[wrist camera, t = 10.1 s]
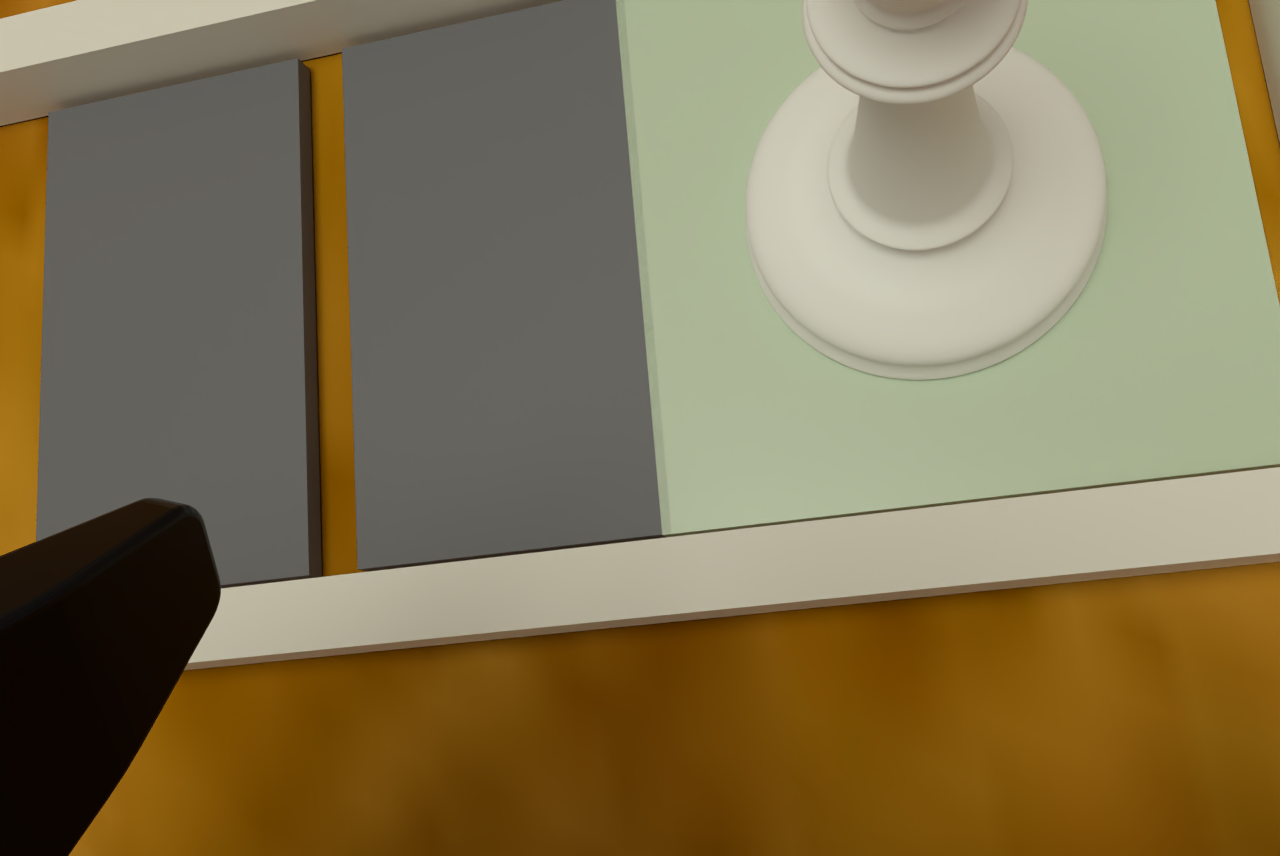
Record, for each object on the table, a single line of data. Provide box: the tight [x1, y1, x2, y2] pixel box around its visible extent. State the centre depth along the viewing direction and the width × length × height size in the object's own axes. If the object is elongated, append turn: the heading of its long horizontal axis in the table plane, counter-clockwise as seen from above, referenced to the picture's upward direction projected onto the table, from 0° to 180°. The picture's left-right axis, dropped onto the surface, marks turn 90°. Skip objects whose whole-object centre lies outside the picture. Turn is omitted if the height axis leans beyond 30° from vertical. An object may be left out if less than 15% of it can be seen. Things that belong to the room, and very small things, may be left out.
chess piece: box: [745, 0, 1107, 380], centre depth 12 cm, size 5×5×10 cm
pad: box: [616, 0, 1280, 537], centre depth 17 cm, size 8×9×1 cm
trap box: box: [0, 0, 1280, 670], centre depth 19 cm, size 30×11×2 cm, turn 95°
